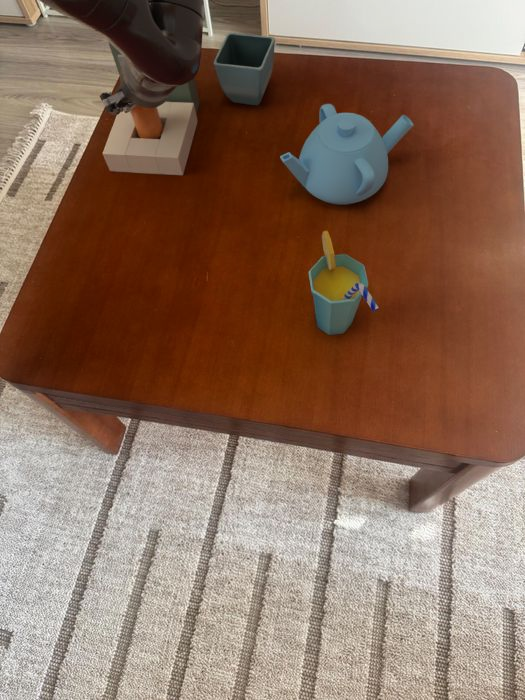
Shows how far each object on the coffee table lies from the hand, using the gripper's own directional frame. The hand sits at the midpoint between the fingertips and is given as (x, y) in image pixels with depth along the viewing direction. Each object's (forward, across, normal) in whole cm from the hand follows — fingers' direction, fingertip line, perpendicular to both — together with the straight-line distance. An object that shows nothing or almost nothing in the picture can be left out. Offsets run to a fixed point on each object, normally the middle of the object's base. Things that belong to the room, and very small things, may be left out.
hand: (137, 100), depth 87 cm
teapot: (-13, -23, +26) cm, 37 cm away
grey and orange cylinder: (+2, 0, +5) cm, 5 cm away
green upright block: (+10, -6, +2) cm, 12 cm away
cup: (-29, -6, +41) cm, 51 cm away
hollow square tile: (+5, 0, +7) cm, 8 cm away
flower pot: (+6, -20, +7) cm, 22 cm away
